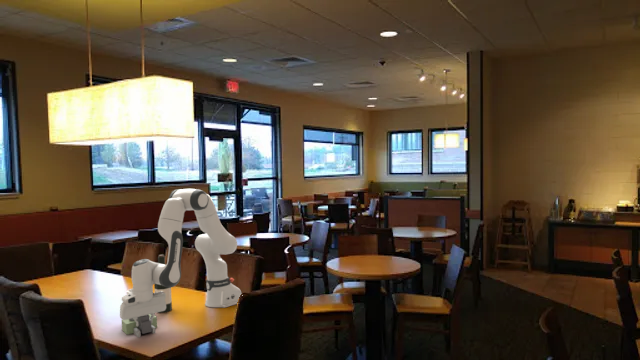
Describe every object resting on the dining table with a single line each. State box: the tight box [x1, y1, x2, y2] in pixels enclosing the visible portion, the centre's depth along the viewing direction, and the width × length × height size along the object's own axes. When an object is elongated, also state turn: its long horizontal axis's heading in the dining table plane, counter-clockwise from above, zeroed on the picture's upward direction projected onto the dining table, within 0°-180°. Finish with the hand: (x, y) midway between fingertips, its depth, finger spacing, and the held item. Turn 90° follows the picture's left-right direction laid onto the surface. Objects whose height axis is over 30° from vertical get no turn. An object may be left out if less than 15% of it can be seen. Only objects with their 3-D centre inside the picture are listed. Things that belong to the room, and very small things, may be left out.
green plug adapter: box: [121, 314, 158, 338], centre depth 211 cm, size 14×15×7 cm
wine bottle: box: [153, 254, 173, 314], centre depth 240 cm, size 8×8×30 cm
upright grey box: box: [137, 315, 152, 335], centre depth 208 cm, size 4×7×7 cm, turn 38°
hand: (144, 324), depth 208 cm, fingers open, 4 cm apart
